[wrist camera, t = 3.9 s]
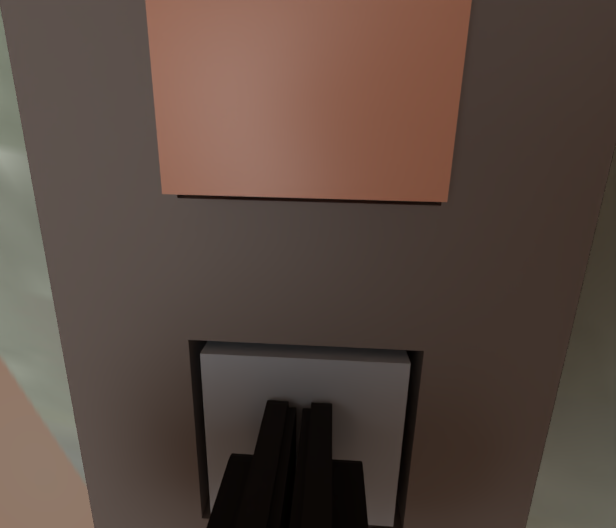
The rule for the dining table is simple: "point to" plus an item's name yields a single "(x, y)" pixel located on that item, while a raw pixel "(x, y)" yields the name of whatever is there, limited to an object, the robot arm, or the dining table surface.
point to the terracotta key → (307, 96)
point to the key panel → (319, 260)
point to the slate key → (300, 393)
